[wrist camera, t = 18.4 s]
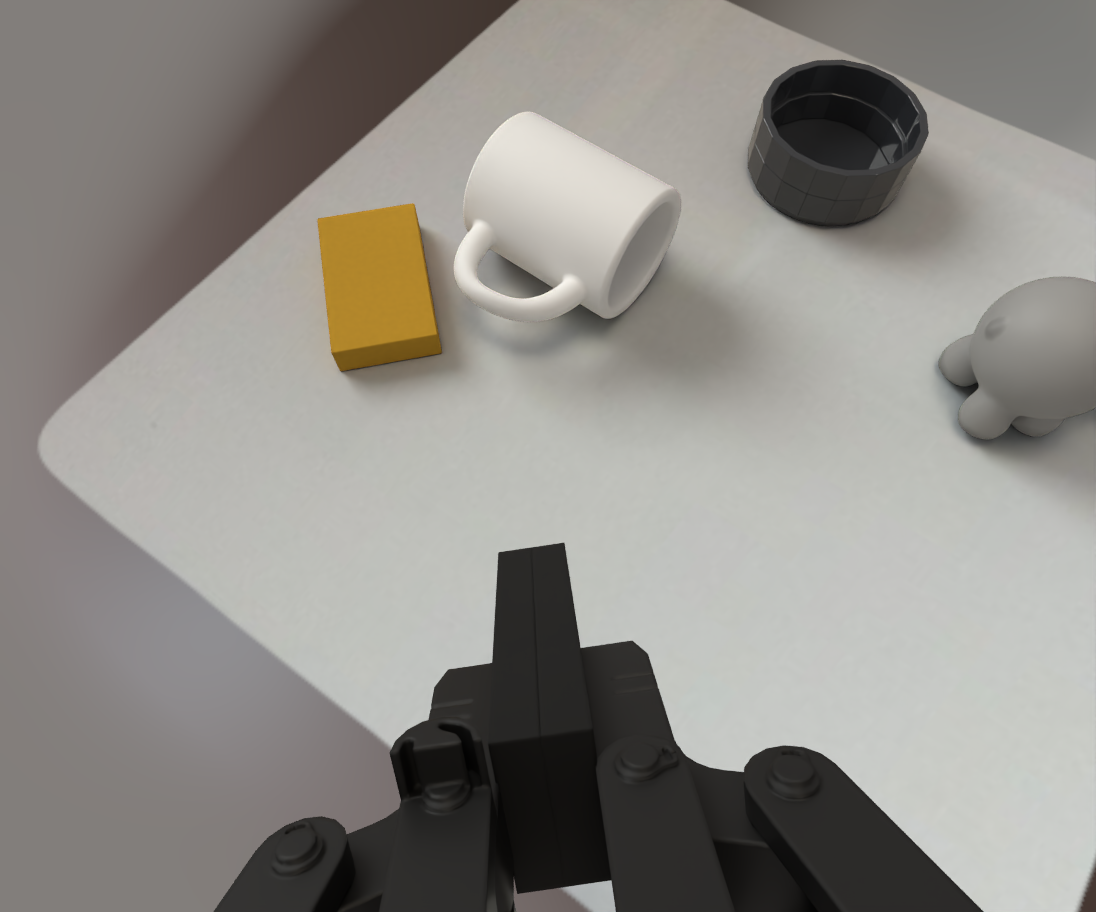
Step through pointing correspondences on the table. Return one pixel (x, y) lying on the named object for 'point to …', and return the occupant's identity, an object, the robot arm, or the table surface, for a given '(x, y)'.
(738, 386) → the table surface
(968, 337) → the round bodied animal figurine
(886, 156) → the dark grey round container
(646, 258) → the mug
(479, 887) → the robot arm
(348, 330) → the ochre rectangular brick
